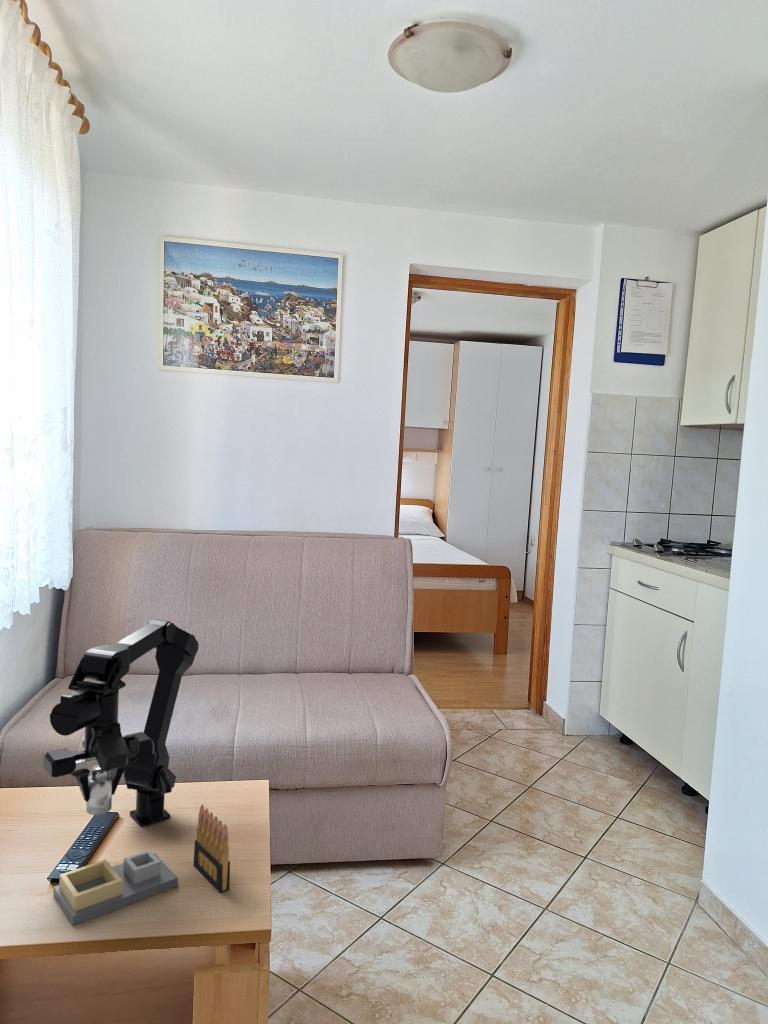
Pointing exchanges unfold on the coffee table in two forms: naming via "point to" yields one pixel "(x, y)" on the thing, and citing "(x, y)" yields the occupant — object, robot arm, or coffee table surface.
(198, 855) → the ammunition clip
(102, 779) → the steel fitting
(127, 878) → the board
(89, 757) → the robot arm
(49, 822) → the coffee table surface
